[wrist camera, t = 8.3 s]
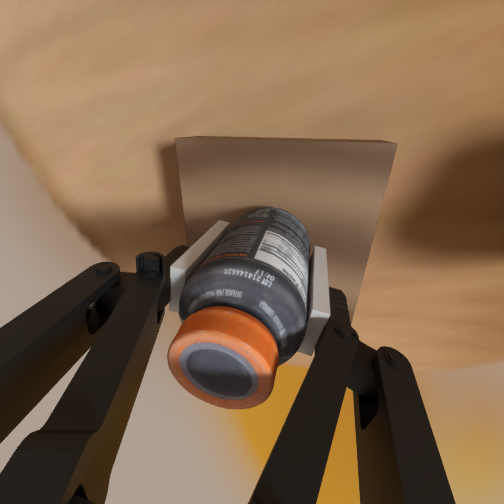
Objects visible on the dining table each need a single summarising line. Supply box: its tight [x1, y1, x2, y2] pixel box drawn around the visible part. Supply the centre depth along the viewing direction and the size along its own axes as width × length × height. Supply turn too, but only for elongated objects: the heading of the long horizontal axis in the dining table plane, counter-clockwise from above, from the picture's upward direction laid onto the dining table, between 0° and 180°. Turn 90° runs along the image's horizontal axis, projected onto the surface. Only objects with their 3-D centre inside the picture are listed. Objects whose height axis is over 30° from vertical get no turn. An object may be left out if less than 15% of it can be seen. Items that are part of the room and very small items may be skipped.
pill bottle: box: [167, 207, 310, 409], centre depth 13 cm, size 6×6×11 cm
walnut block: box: [175, 136, 398, 323], centre depth 20 cm, size 14×14×4 cm
